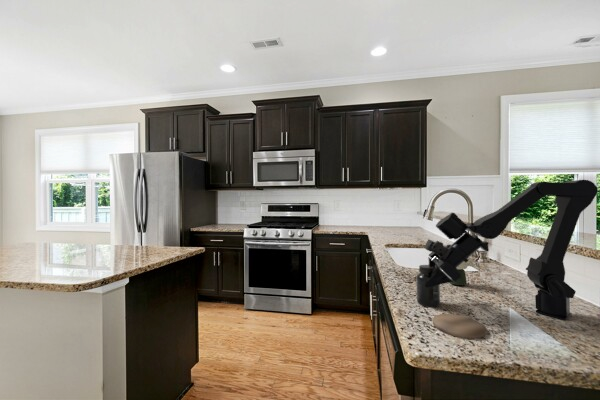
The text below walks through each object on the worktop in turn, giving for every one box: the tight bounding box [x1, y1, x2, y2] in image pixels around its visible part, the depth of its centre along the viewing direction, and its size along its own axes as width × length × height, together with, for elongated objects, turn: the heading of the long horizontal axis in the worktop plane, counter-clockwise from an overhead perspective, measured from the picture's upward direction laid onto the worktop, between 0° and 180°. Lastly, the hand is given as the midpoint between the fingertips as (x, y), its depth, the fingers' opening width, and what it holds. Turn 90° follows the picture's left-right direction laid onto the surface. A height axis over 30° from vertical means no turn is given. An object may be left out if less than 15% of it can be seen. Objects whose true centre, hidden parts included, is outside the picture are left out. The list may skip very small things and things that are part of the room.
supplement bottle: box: [415, 264, 441, 308], centre depth 87 cm, size 7×7×12 cm
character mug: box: [449, 257, 474, 286], centre depth 107 cm, size 11×7×13 cm, turn 42°
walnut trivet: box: [432, 313, 487, 339], centre depth 71 cm, size 12×12×1 cm
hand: (423, 282), depth 88 cm, fingers open, 8 cm apart
